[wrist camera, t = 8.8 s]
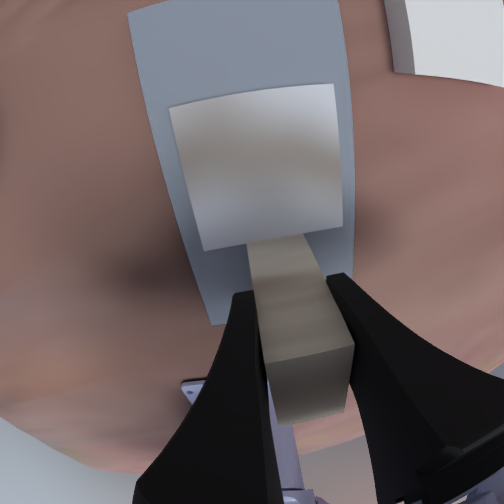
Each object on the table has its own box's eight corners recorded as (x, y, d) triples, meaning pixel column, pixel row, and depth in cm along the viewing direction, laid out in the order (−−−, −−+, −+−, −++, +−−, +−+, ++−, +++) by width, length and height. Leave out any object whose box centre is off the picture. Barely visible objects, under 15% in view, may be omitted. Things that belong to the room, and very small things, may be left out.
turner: (337, 287, 15) (388, 398, 9) (223, 308, 15) (228, 433, 9) (326, 83, 10) (441, 93, 4) (172, 106, 10) (105, 135, 4)
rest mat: (346, 292, 17) (350, 299, 17) (211, 318, 17) (211, 326, 17) (329, -12, 8) (334, -16, 8) (131, 15, 8) (127, 13, 8)
